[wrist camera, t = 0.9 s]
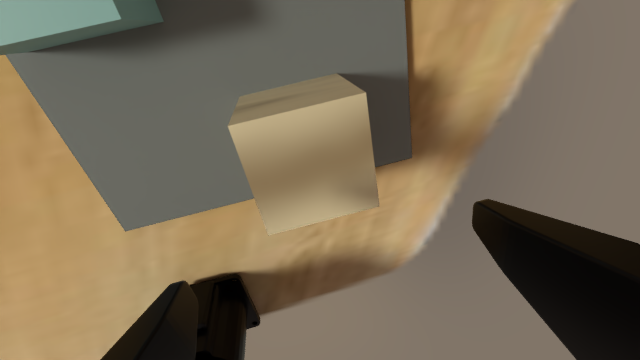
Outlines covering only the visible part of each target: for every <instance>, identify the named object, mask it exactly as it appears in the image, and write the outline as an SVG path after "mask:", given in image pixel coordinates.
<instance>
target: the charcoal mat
mask: <svg viewBox="0 0 640 360" xmlns="http://www.w3.org/2000/svg"><path fill="white" fill-rule="evenodd" d="M155 1H156V4H157V6H158V9H159V11H160V13H161V16H162V18H163V21H164V22H160V23H156V24H151V25H147V26H142V27H138V28H133V29H129V30H124V31H120V32H116V33H111V34H107V35H102V36H98V37H93V38H89V39H84V40H80V41H75V42H71V43H67V44H62V45H58V46H53V47H49V48H44V49H40V50H35V51H31V52H26V53H16V54H6V56H7V58H8V59H9V61H10V62H11V64H12V65H13V67H14V68H15V70H16V71H17V72H18V74H19V75H20V77H21V78H22V80H23V81H24V83H25V84H26V86H27V87H28V89H29V90H30V92H31V93H32V95H33V96H34V98H35V99H36V100H37V102H38V103H39V105H40V106H41V108H42V109H43V111H44V112H45V114H46V115H47V117H48V118H49V120H50V121H51V123H52V124H53V126H54V127H55V128H56V130H57V131H58V133H59V134H60V136H61V137H62V139H63V140H64V142H65V143H66V145H67V146H68V148H69V149H70V151H71V152H72V154H73V155H74V156H75V158H76V159H77V161H78V162H79V164H80V165H81V167H82V168H83V170H84V171H85V173H86V174H87V176H88V177H89V179H90V180H91V182H92V183H93V185H94V186H95V187H96V189H97V190H98V192H99V193H100V195H101V196H102V198H103V199H104V201H105V202H106V204H107V205H108V207H109V208H110V210H111V211H112V213H113V214H114V215H115V217H116V218H117V220H118V221H119V223H120V224H121V226H122V227H123V229H124V230H125V231H129V230H132V229H136V228H140V227H144V226H148V225H152V224H156V223H160V222H164V221H168V220H171V219H175V218H179V217H183V216H187V215H191V214H195V213H199V212H203V211H207V210H210V209H214V208H218V207H222V206H226V205H230V204H234V203H238V202H242V201H245V200H249V199H253V198H254V196H253V193H252V190H251V188H250V185H249V182H248V180H247V177H246V174H245V171H244V169H243V166H242V163H241V161H240V158H239V155H238V153H237V150H236V147H235V144H234V142H233V139H232V136H231V134H230V131H229V128H228V124H229V122H230V119H231V117H232V114H233V112H234V109H235V107H236V104H237V102H238V99H239V97H240V96H244V95H248V94H252V93H256V92H260V91H265V90H269V89H273V88H277V87H281V86H285V85H290V84H294V83H298V82H302V81H306V80H311V79H315V78H319V77H323V76H327V75H331V74H336V73H337V74H338V75H340V76H341V77H343V78H345V79H346V80H348V81H349V82H351V83H352V84H354V85H355V86H357V87H358V88H360V89H361V90H363V91H365V92H366V97H367V105H368V114H369V122H370V130H371V139H372V147H373V156H374V164H375V167H378V166H382V165H386V164H390V163H394V162H397V161H401V160H405V159H409V158H412V147H411V126H410V105H409V84H408V63H407V41H406V20H405V0H155Z"/></svg>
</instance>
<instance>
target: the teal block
mask: <svg viewBox="0 0 640 360" xmlns="http://www.w3.org/2000/svg"><path fill="white" fill-rule="evenodd" d="M160 22H164V21H163V18H162V16H161V13H160V11H159V9H158V6H157V4H156V1H155V0H0V55H6V54H16V53H26V52H31V51H35V50H40V49H44V48H49V47H53V46H58V45H62V44H67V43H71V42H75V41H80V40H84V39H89V38H93V37H98V36H102V35H107V34H111V33H116V32H120V31H124V30H129V29H133V28H138V27H142V26H147V25H151V24H156V23H160Z"/></svg>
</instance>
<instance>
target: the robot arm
mask: <svg viewBox="0 0 640 360" xmlns="http://www.w3.org/2000/svg"><path fill="white" fill-rule="evenodd" d="M472 226H473V229H474V231H475V232H476V234H477V235H478V236H479V238H480V240H481V241H482V242H483V244H484V245H485V247H486V248H487V250H488V251H489V253H490V254H491V256H492V257H493V259H494V260H495V261H496V263H497V265H498V266H499V267H500V268H501V270H502V271H503V273H504V274H505V275H506V276H507V278H508V279H509V280H510V281H511V282H512V284H513V285H514V286H515V287H516V288H517V289H518V291H519V292H520V293H521V294H522V295H523V297H524V298H525V299H526V300H527V301H528V303H529V304H530V305H531V306H532V307H533V309H535V311H536V312H537V313H538V314H539V316H540V317H541V318H542V319H543V320H544V321H545V323H546V324H547V325H548V326H549V328H550V329H551V330H552V331H553V332H554V333H555V334H556V336H557V337H558V338H559V339H560V341H561V342H562V343H563V344H564V345H565V346H566V348H567V349H568V350H569V351H570V352H571V353H572V355H573V356H574V357H575V358H576V360H640V244H638V243H635V242H632V241H628V240H625V239H622V238H618V237H615V236H612V235H608V234H605V233H601V232H598V231H594V230H591V229H588V228H585V227H581V226H578V225H574V224H571V223H568V222H564V221H561V220H558V219H554V218H551V217H548V216H544V215H541V214H537V213H534V212H530V211H527V210H524V209H521V208H517V207H514V206H510V205H507V204H504V203H500V202H497V201H493V200H490V199H485V200H481V201H477V202H475V203H474V205H473V216H472ZM233 280H236V281H233ZM259 324H260V317H259V315H258V313H257V311H256V309H255V306H254V304H253V302H252V300H251V298H250V296H249V294H248V292H247V290H246V287H245V285H244V283H243V281H242V279H241V277H240V276H239V275H237V274H233V275H229V276H225V277H222V278H218V279H214V280H211V281H207V282H203V283H199V284H196V285H192V286H189V284H188V283H187V282H186V281H180V282H176V283H172V284H170V285H169V286H168V287H167V288H166V289H165V290H164V291H163V292H162V294H161V295H160V296H159V297H158V298H157V299H156V300H155V301H154V302H153V303H152V304H151V305H150V307H149V308H148V309H147V310H146V311H145V312H144V313H143V314H142V315H141V316H140V317H139V318H138V320H137V321H136V322H135V323H134V324H133V325H132V326H131V327H130V328H129V329H128V330H127V331H126V333H125V334H124V335H123V336H122V337H121V338H120V339H119V340H118V341H117V342H116V343H115V344H114V346H113V347H112V348H111V349H110V350H109V351H108V352H107V353H106V354H105V355H104V356H103V357H102V359H101V360H244V356H245V343H246V342H245V341H246V329H249V328H252V327H256V326H258V325H259Z"/></svg>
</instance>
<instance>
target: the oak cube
mask: <svg viewBox="0 0 640 360" xmlns="http://www.w3.org/2000/svg"><path fill="white" fill-rule="evenodd" d="M228 128H229V131H230V134H231V136H232V139H233V142H234V144H235V147H236V150H237V153H238V155H239V158H240V161H241V163H242V166H243V169H244V171H245V174H246V177H247V180H248V182H249V185H250V188H251V190H252V193H253V196H254V198H255V201H256V204H257V207H258V209H259V212H260V215H261V217H262V220H263V223H264V225H265V228H266V231H267V233H268V236H269V235H273V234H277V233H280V232H284V231H288V230H292V229H296V228H299V227H303V226H307V225H311V224H315V223H318V222H322V221H326V220H330V219H334V218H337V217H341V216H345V215H349V214H353V213H356V212H360V211H364V210H368V209H372V208H375V207H379V198H378V189H377V181H376V172H375V164H374V156H373V147H372V139H371V130H370V122H369V114H368V105H367V97H366V92H365V91H363V90H361V89H360V88H358V87H357V86H355V85H354V84H352V83H351V82H349V81H348V80H346V79H345V78H343V77H341V76H340V75H338V74H337V73H336V74H331V75H327V76H323V77H319V78H315V79H311V80H306V81H302V82H298V83H294V84H290V85H285V86H281V87H277V88H273V89H269V90H265V91H260V92H256V93H252V94H248V95H244V96H240V97H239V99H238V102H237V104H236V107H235V109H234V112H233V114H232V117H231V119H230V122H229V124H228Z"/></svg>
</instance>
